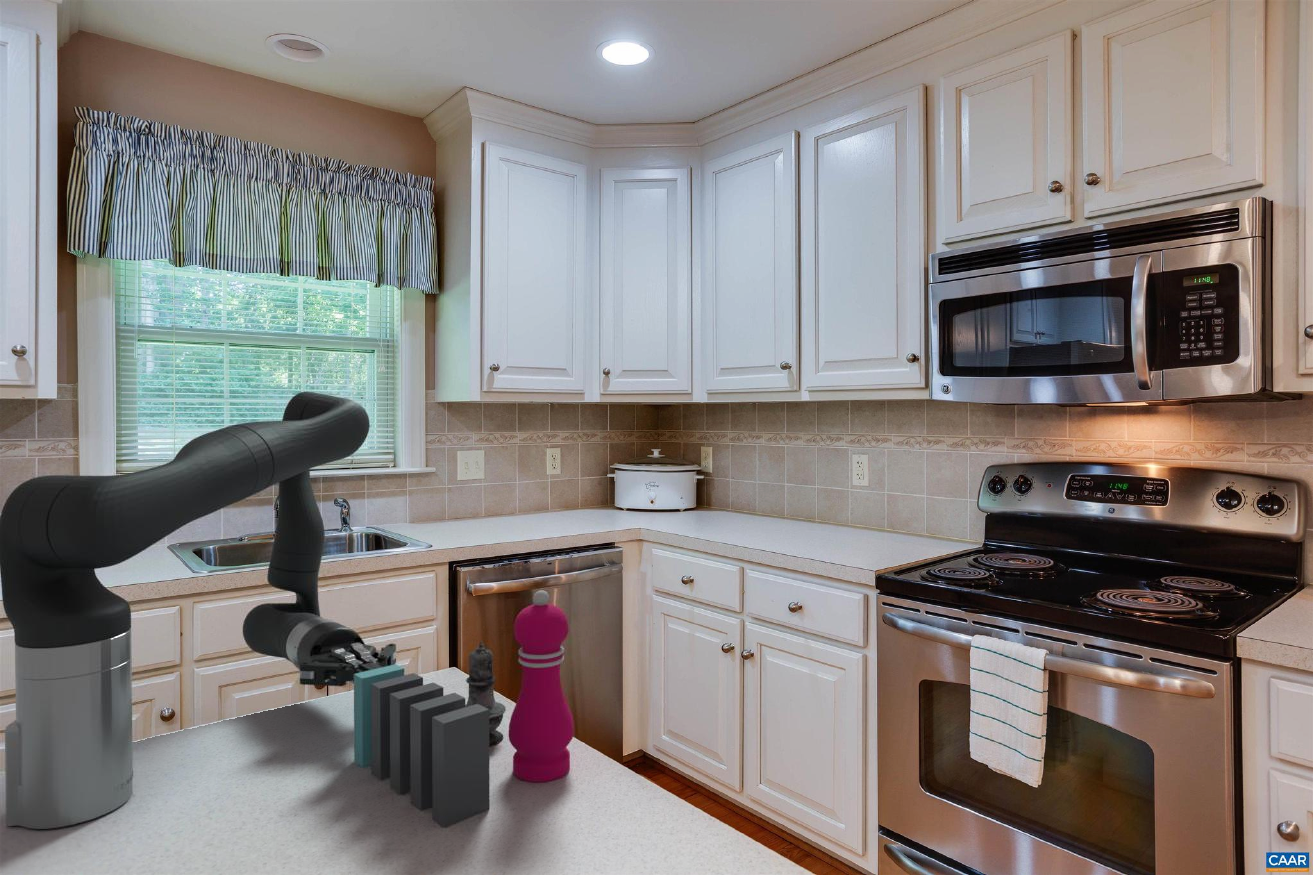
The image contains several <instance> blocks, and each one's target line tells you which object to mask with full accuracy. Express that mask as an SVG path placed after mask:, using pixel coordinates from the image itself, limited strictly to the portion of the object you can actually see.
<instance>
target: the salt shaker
mask: <svg viewBox="0 0 1313 875" xmlns="http://www.w3.org/2000/svg"><path fill="white" fill-rule="evenodd" d="M477 645H478V647H477V648H476V649H474V650H473V651H471V652H470V653H469V657H468V659H469V660H468V670H469V671H468V673H469V674H468V675H469V676H468V677H467V678H466V679H465V681H466V683H467V684H468V697H467V702H466V703H465V707H468V706H471V705H475V704H479V705H481V706H483V707H485V708H487V709H489V748H491V747H494V746H496V745H498V744H500V743H501V742H502V741H503V740H504V734H503V733H502V732H500V731H499V730H497V729H498V727H500V725H501V723H502V722H503V718H504V714H505V712H506V711H507V709H506V706H505V705H504V703H503V704H502V703H501V702H498V701H497V702H496V699H495V694H494V688H495V687H494V684H495V682H496V681H497V677H496V676H495V675H494V655H493V652H492V651H491V650H490V649H487V648H485V647H484V645H485V644H484V643H483V641H480V642H479V643H478V644H477Z"/></svg>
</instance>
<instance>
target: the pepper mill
mask: <svg viewBox="0 0 1313 875" xmlns="http://www.w3.org/2000/svg"><path fill="white" fill-rule="evenodd" d="M532 598H533V599H532V601H533V603H534V604H531V605H528V606H527V607H524V608H523V609H521V611H519V613H518V615H516V618H515V621H514V624H513V636H514V638H515V641H516V642H518V644H519V645H520V648H519V649H518V651H517V652H518V655H519V658H518V663H519V664H520V665H522V666H521V667H522V681H521V687H520V688H521V689H520V692H519V695H518V698H517V701H516V702H515V703H516V704H515V706H514V708H513V710H512V713H511V716H510V721H509V725H508V741H509V742H510V744H511V746H512V747H513V748H514V749H515V750H516V751H515V752H514V754H513V756H512V771H513V774H514V776H515V777H516V778H517V779H520V780H521V781H525V782H529V783H544V782H545V783H546V782H547V783H548V782H550V781H555V780H558V779H560V778H561V777H564V776H565V775H566V774H567V773H568V772H569V770H570V767H571V766H570V765H571V752H570V751H569V749H568V748H567V747H568V746H569V745H570V743H571V742H572V740H573V738H574V736H575V725H574V724H575V723H574V718H573V715H572V714H573V713H572V710H571V708H570V706H569V704H568V702H567V700H566V697H565V694H564V692H563V687H562V682H561V664H562V663H563V662H564V660H565V657H564V652H565V647H564V646H562V644H563V643H564V641H565V640H566V639H567V637H568V635H569V630H570V629H569V621H568V617H567V616H566V613H565V611H564V610H562V609H561V608H560V607H558V606H556V605H554V604H552V603H549V602H550V596H549V593H548V592H547V591H546V590H538V591H536V592H534V594H533V597H532Z"/></svg>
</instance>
